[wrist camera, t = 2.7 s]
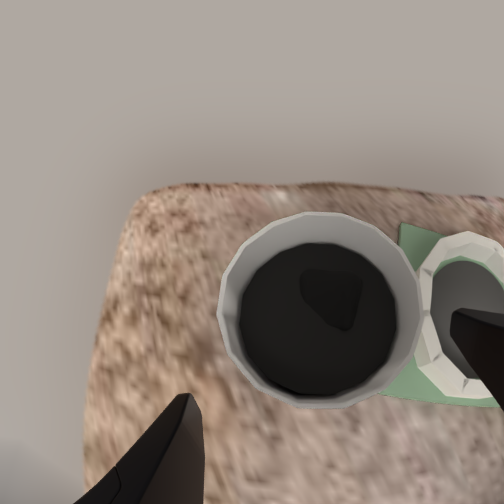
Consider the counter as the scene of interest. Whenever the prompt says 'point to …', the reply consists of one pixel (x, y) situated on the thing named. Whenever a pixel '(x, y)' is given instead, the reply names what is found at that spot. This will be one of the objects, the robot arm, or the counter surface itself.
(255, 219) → the counter surface
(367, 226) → the white coffee cup
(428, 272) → the practice green
